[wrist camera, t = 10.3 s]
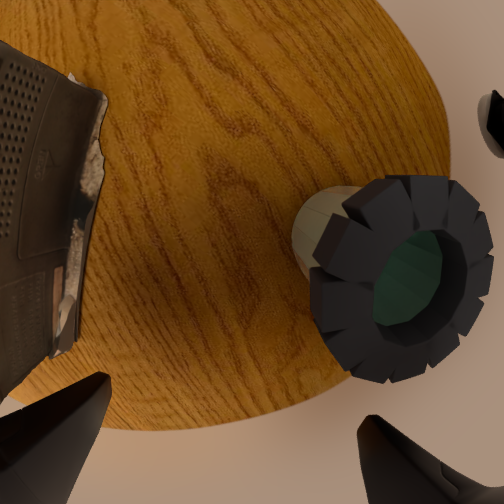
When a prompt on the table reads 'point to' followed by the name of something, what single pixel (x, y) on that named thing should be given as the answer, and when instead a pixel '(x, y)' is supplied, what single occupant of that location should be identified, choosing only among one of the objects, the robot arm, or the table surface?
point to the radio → (43, 208)
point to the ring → (373, 262)
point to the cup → (395, 271)
